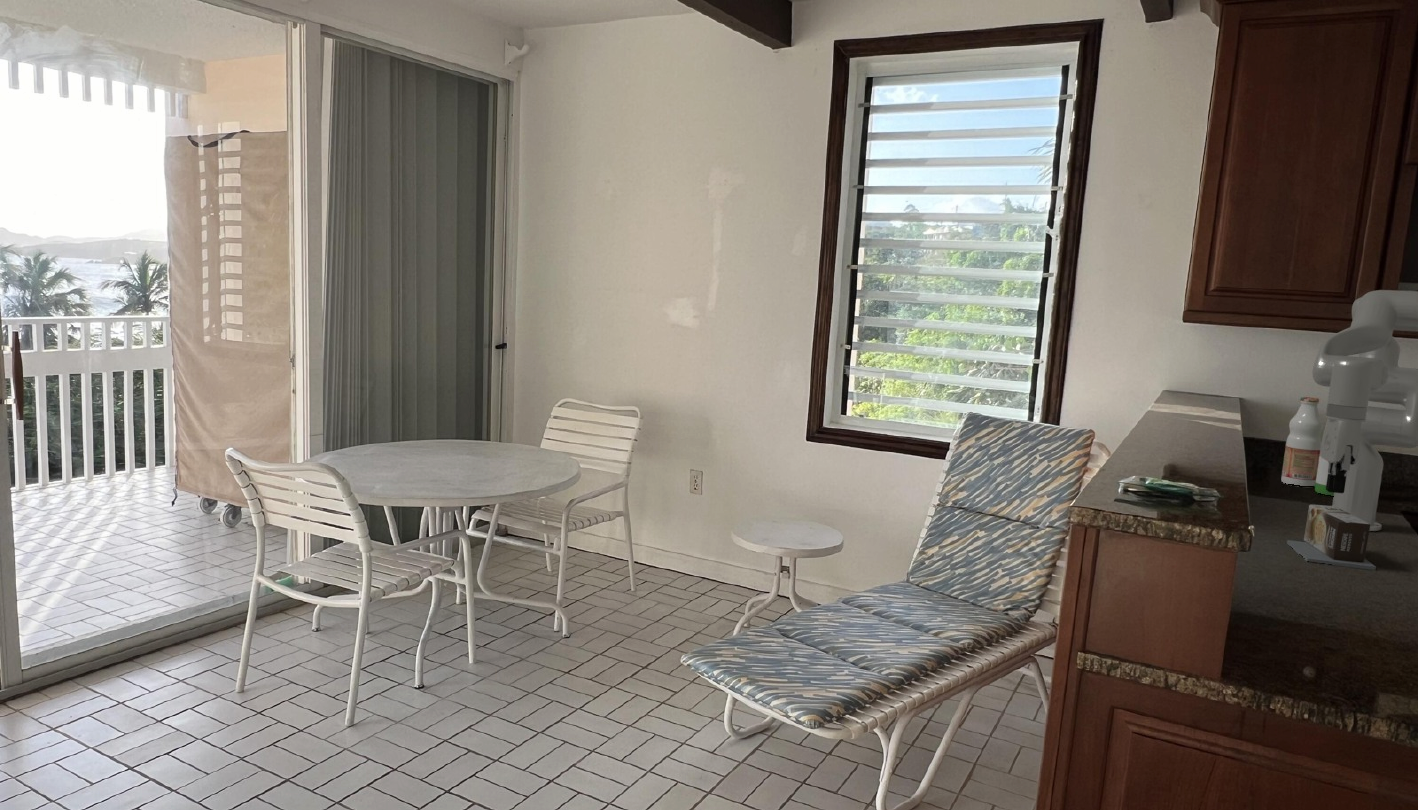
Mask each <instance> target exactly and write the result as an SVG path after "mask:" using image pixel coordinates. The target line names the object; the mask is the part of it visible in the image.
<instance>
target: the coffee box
mask: <svg viewBox="0 0 1418 810" xmlns="http://www.w3.org/2000/svg"><path fill="white" fill-rule="evenodd" d="M1369 530H1370V524H1369V523H1367V522H1365V521H1363V520H1361V519H1359V518H1357V517H1355V516H1354V515H1352V514H1350V513H1348V512H1346V511H1344V510H1342V509H1340V508H1338V507H1335V506H1332V505H1321V504H1309V505H1308V511H1307V518H1306V525H1305V531H1304V536H1303V542H1307V543H1309V544H1310V545H1312V546H1313V547H1315V548H1317V549H1318V550H1320V551H1321V552H1323V553H1324V554H1326V555H1327V556H1329V557H1330V558H1332V559H1333V560H1341V561H1350V562H1354V561H1356V562H1364V558H1365V557H1366V550H1367V545H1368V540H1369V536H1370V531H1369ZM1365 559H1366V558H1365Z"/></svg>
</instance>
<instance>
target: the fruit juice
mask: <svg viewBox="0 0 1418 810" xmlns="http://www.w3.org/2000/svg"><path fill="white" fill-rule="evenodd" d="M1299 401H1300V406H1299V408H1298V410H1297V412H1296V413H1295V414H1294V416H1293V417H1292V418H1291V419H1290V420H1289V424H1288V427H1289V434H1288V436H1287V438H1286V442H1285V447H1284V449H1285V450H1284V456H1283V463H1282V470H1281V478H1280V479H1281V483H1282V482H1283V483H1282V484H1285V483H1286V484H1285V485H1288V484H1294V485H1300V486H1314V487H1315V485H1316V477H1317V470H1318V463H1319V456H1320V449H1321V443H1322V438H1321V434H1323V433H1322V432H1324V423H1323V420H1322V419H1321V417H1320V414H1319V408H1318V405H1319V403H1320V399H1319V398H1316V397H1308V396H1307V397H1306V396H1301V397H1300V399H1299Z"/></svg>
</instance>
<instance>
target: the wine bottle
mask: <svg viewBox="0 0 1418 810" xmlns="http://www.w3.org/2000/svg"><path fill="white" fill-rule="evenodd" d="M1322 432H1323V433H1322V438H1321V440H1322V439H1323V434H1324V431H1322ZM1321 444H1322V442H1321ZM1328 466H1329V463H1328V461H1327V460H1325V459H1323V458H1322V457H1321V456H1319V463H1318V470H1317V477H1316V485H1315V486H1314V491H1315V493H1316V492H1317V493H1316V494H1318V493H1321V494H1325V495H1331V496H1334V493H1333V492H1328V491H1327V490H1326V484H1327V477H1328V474H1329V473H1328Z"/></svg>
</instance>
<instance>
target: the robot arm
mask: <svg viewBox="0 0 1418 810" xmlns="http://www.w3.org/2000/svg"><path fill="white" fill-rule="evenodd" d="M1351 319H1352V321H1351V324H1350V326H1349V327H1347V328H1345V329H1343V330H1341V331H1339V332H1337V333H1335V334H1333V335H1332V336H1330V337H1328V338H1326V340H1324V342H1323V343H1322V344H1321V346H1320V348H1319V350H1318V353H1317V356H1316V357H1315V360H1314V362H1313V363H1314V364H1313V367H1312V372H1311V373H1312V379H1313V381H1314V382H1315V383H1316V384H1317V385H1319V386H1322V387H1328V388H1329V391H1328V397H1327V398H1328V399H1327V403H1326V404H1327V405H1326V411H1325V412H1326V413H1325V418H1326V423H1325V425H1324V426H1325V427H1324V428H1323V432H1324V434H1323V433H1322V436H1323V439H1322V438H1321V443H1322V444H1321V449H1320V456H1321V457H1322V458H1323V459H1325V460H1327V461H1328V463H1329V466H1328V473H1329V474H1328V477H1327V484H1326V490H1327V491H1328V492H1333V493H1334V497H1332V498H1333V499H1332V505H1331V506H1335V507H1338V508H1340V509H1342V510H1344V511H1346V512H1348V513H1350V514H1352V515H1354V516H1355V517H1357V518H1359V519H1361V520H1363V521H1365V522H1367V523H1369V524H1370V530H1369V532H1377V531H1381V530H1382V526H1383V525H1382V524H1381V523H1379V522H1377V521H1376V517H1377V516H1376V515H1377V508H1378V502H1379V494H1380V489H1381V483H1382V476H1383V471H1384V460H1383V458H1382V456H1381V454H1380V453H1379V452H1378V450H1377V449H1376V447H1375V445H1377V446H1388V447H1396V448H1402V449H1414V448H1417V447H1418V368H1415V367H1414V368H1413V367H1403V366H1399V359H1400V354H1401V347H1400V345H1399V343H1398V341H1397V340H1396V338H1395V337H1394V336H1393V333H1394V331H1402V332H1403V331H1404V332H1405V331H1406V332H1418V291H1417V290H1415V291H1414V290H1396V289H1395V290H1394V289H1393V290H1391V289H1387V290H1386V289H1385V290H1384V289H1378V290H1372V291H1369V292H1367V293H1365V294H1364V295H1362V296H1361V297H1359V298H1356V299H1355V300H1354V302H1353V304H1352V306H1351ZM1353 355H1358V356H1353ZM1369 402H1372V403H1373V402H1374V403H1383V404H1389V405H1390V404H1392V405H1400V406H1402V407H1404V408H1405V410H1404V409H1395V408H1386V407H1379V406H1370V405H1369Z"/></svg>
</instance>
